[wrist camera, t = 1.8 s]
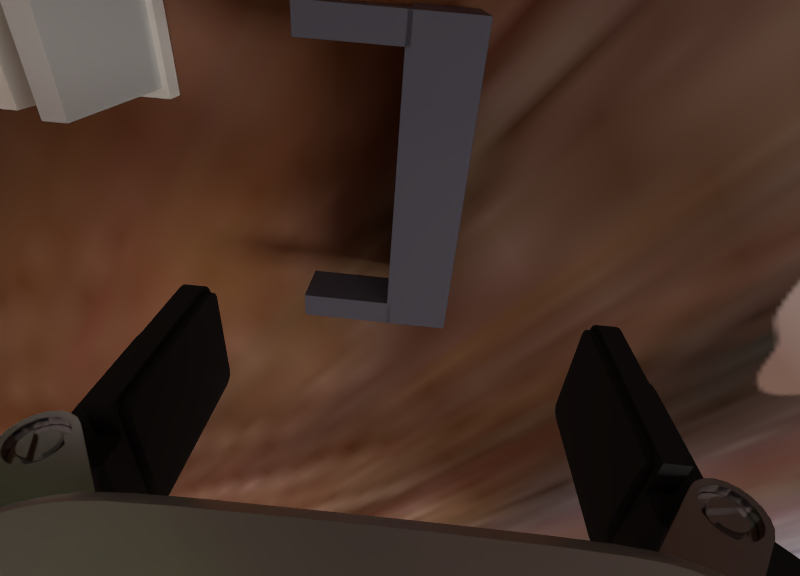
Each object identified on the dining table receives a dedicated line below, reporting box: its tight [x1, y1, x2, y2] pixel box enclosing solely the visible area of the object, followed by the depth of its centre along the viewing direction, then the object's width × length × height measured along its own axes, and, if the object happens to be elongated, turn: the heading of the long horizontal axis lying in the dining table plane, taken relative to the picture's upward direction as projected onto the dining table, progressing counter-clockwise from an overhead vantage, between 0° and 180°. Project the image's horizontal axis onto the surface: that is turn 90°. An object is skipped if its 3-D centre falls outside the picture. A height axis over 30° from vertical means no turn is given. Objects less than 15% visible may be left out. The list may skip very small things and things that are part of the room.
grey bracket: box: [290, 0, 493, 328], centre depth 23 cm, size 7×14×6 cm, turn 176°
